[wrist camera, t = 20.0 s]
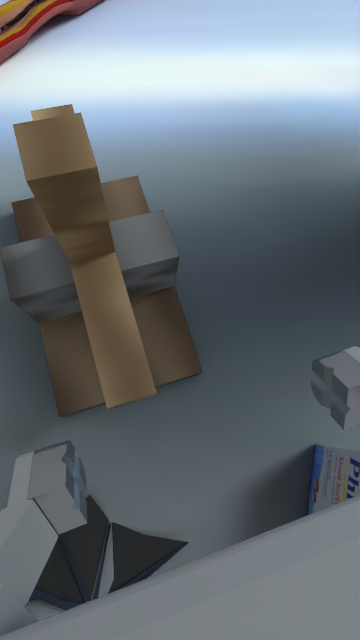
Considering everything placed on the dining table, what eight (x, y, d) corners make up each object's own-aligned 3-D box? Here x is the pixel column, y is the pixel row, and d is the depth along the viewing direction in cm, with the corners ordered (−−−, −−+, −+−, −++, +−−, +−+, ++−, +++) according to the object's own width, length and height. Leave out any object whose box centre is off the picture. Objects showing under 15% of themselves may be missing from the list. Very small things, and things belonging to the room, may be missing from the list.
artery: (136, -47, 45) (134, -102, 40) (164, -26, 44) (165, -79, 40) (-161, 129, 34) (-211, 82, 30) (-130, 159, 34) (-177, 117, 29)
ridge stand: (137, 185, 35) (134, 125, 28) (200, 373, 30) (215, 360, 23) (17, 211, 33) (-20, 154, 26) (64, 416, 28) (34, 416, 21)
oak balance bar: (77, 125, 27) (37, -31, 18) (156, 394, 22) (160, 378, 13) (39, 132, 27) (-23, -24, 17) (110, 409, 22) (79, 403, 12)
